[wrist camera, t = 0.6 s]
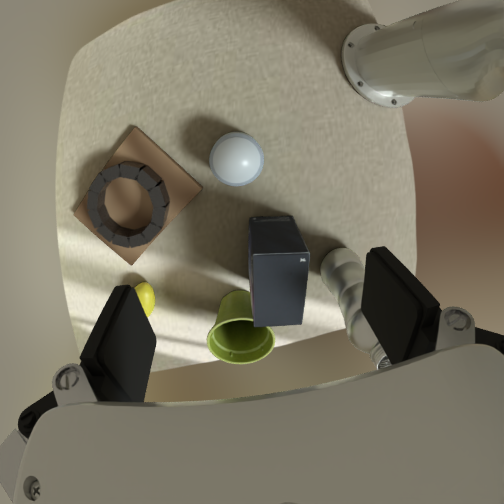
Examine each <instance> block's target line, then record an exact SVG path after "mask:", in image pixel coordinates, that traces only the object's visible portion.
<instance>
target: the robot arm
mask: <svg viewBox="0 0 504 504" xmlns="http://www.w3.org/2000/svg"><path fill="white" fill-rule="evenodd" d="M348 45H349V46H350V47H349V46H348ZM341 58H342V64H343V68H344V71H345V74H346V76H347V78H348V80H349V82H350V83H351V84H352V86H353V87H354V88H355V90H356V91H357V92H358V93H359V94H360V95H361V96H363V97H364V98H365V99H367V100H368V101H370V102H372V103H374V104H376V105H379V106H382V107H391V108H396V107H401V106H404V105H406V104H408V103H410V102H411V101H412V100H413V99H414V98H415V97H431V98H446V99H457V100H468V101H479V102H483V101H489V100H492V99H494V98H496V97H498V96H499V95H500V94H501V93H502V92H503V91H504V0H458V1H455V2H453V3H449V4H446V5H443V6H440V7H437V8H434V9H431V10H428V11H426V12H422V13H419V14H417V15H414V16H411V17H409V18H406V19H403V20H401V21H398V22H396V23H394V24H391V25H389V26H385V25H380V24H365V25H362V26H359V27H357V28H356V29H354V30H352V31H351V32H350V33H349V34H348V35H347V37H346V39H345V41H344V43H343V46H342V55H341ZM357 82H358V83H359V86H358V84H357ZM391 101H392V102H391ZM439 306H440V303H439V302H438V301H437V300H436V299H435V298H434V297H433V295H432V294H431V293H430V292H429V291H428V290H427V289H426V288H425V287H424V286H423V285H422V284H421V282H420V281H419V280H418V279H417V278H416V277H415V276H414V275H413V274H412V273H411V272H410V271H409V270H408V269H407V268H406V267H405V266H404V265H403V264H402V263H401V262H400V261H399V260H398V259H397V258H396V257H395V256H394V255H393V254H392V253H391V252H390V251H389V250H388V249H387V248H386V247H385V246H382V247H376V248H372V249H371V250H370V252H368V253H367V255H366V265H365V275H364V284H363V292H362V300H361V311H362V313H363V315H364V317H365V318H366V320H367V322H368V324H369V325H370V327H371V329H372V330H373V332H374V334H375V336H376V337H377V339H378V341H379V343H380V344H381V346H382V348H383V350H384V352H385V353H386V355H387V357H388V359H389V361H390V363H391V364H392V365H391V366H387V367H384V368H381V369H378V370H374V371H371V372H368V373H364V374H360V375H357V376H353V377H349V378H345V379H341V380H337V381H333V382H329V383H324V384H320V385H315V386H310V387H305V388H300V389H295V390H290V391H283V392H277V393H271V394H265V395H257V396H250V397H241V398H233V399H221V400H209V401H193V402H144V398H145V392H146V388H147V383H148V379H149V374H150V369H151V365H152V360H153V356H154V352H155V347H156V336H155V334H154V332H153V330H152V327H151V325H150V323H149V321H148V318H147V316H146V314H145V312H144V309H143V307H142V305H141V302H140V300H139V297H138V295H137V292H136V290H135V289H134V288H131V286H130V285H120V286H116V287H115V288H114V289H113V291H112V293H111V295H110V297H109V299H108V301H107V302H106V304H105V306H104V308H103V310H102V312H101V314H100V316H99V318H98V320H97V322H96V324H95V326H94V328H93V330H92V332H91V334H90V336H89V338H88V340H87V343H86V345H85V347H84V349H83V351H82V353H81V356H80V359H81V363H80V365H78V364H74V363H72V364H67V365H65V366H63V367H62V368H60V369H59V370H58V371H57V372H56V374H55V375H54V377H53V381H52V387H53V391H52V392H50V393H49V394H47V395H46V396H44V397H43V398H41V399H40V400H38V401H37V402H35V403H34V404H32V405H31V406H29V407H28V408H26V409H25V410H24V411H23V412H22V413H21V415H20V417H19V420H18V428H19V430H16V429H14V430H13V431H12V433H11V434H10V435H9V436H8V437H7V438H6V440H5V441H4V442H3V443H2V444H1V445H0V483H1V485H2V486H3V488H4V490H5V491H6V493H7V494H8V496H9V498H10V499H11V501H12V502H13V504H504V335H500V334H497V333H494V332H490V331H486V330H483V329H480V328H476V327H475V322H474V319H473V317H472V315H471V314H470V313H469V312H467V311H466V310H464V309H462V308H460V307H447V308H446V309H444V310H443V311H442V310H441V309H440V308H439Z"/></svg>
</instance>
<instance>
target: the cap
mask: <svg viewBox="0 0 504 504" xmlns="http://www.w3.org/2000/svg"><path fill="white" fill-rule="evenodd" d="M209 163H210V168H211V171H212V172H213V174H214V176H215V177H216V178H217V179H218V180H219V181H221V182H222V183H224V184H227V185H230V186H243V185H246V184H248V183H250V182H252V181H253V180H255V179H256V178H257V177H258V175H259V174H260V172H261V170H262V168H263V164H264V155H263V152H262V149H261V147H260V146H259V144H258V143H257V142H256V141H255V139H254V138H253V137H251V136H250V135H248V134H246V133H244V132H230V133H227V134H225V135H223V136H222V137H220V138H219V139H218V141H217V142H216V143H215V145H214V146H213V148H212V150H211V153H210V157H209Z"/></svg>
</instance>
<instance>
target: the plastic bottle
mask: <svg viewBox="0 0 504 504" xmlns="http://www.w3.org/2000/svg"><path fill="white" fill-rule="evenodd" d="M320 271H321V277H322V281H323V283H324V284H325V286H326V287H327V288H328V290H329V291H330V292H331V293H332V294H333V296H334V297H335V299H336V301H337V302H338V304H339V307H340V309H341V312H342V315H343V317H344V321H345V326H346V330H347V334H348V337H349V340H350V342H351V343H352V344H353V345H354V346H355V347H356V348H357V349H359V350H361V351H363V352H365V353H369V354H370V358H371V360H372V362H373V363H374V364H375V367H376V368H377V370H378V369H381V368H384V367H387V366H391V365H392V364H391V363H390V361H389V359H388V357H387V355H386V353H385V352H384V350H383V348H382V346H381V344H380V343H379V341H378V339H377V337H376V336H375V334H374V332H373V330H372V329H371V327H370V325H369V324H368V322H367V320H366V318H365V317H364V315H363V313H362V311H361V300H362V292H363V284H364V275H365V269H364V266H363V264H362V261H361V259H360V257H359V256H358V255H357V254H356V253H354V252H353V251H352V250H350V249H348V248H338V249H335V250H333V251H331V252H329V253H328V254H327V255H326V257H325V258H324V260H323V261H322V264H321V268H320Z"/></svg>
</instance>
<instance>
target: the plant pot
mask: <svg viewBox="0 0 504 504" xmlns="http://www.w3.org/2000/svg"><path fill="white" fill-rule="evenodd" d="M274 345H275V335H274V332H273V330H272V329H271V327H270V326H269V327H254V322H253V315H252V306H251V296H250V292H247V291H243V290H237V291H232V292H230V293H229V294H228V295H226V296H225V297H223V299H222V301H221V304H220V308H219V312H218V315H217V319H216V322H215V325H214V326H213V327H212V329H211V330H210V331H209V333H208V336H207V346H208V348H209V350H210V352H211V353H212V354H213V355H214V356H215V357H217V358H218V359H220V360H222V361H225V362H228V363H233V364H247V363H252V362H256V361H258V360H260V359H262V358H264V357H265V356H267V355H268V354H269V353H270V352H271V351H272V349H273V347H274Z"/></svg>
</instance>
